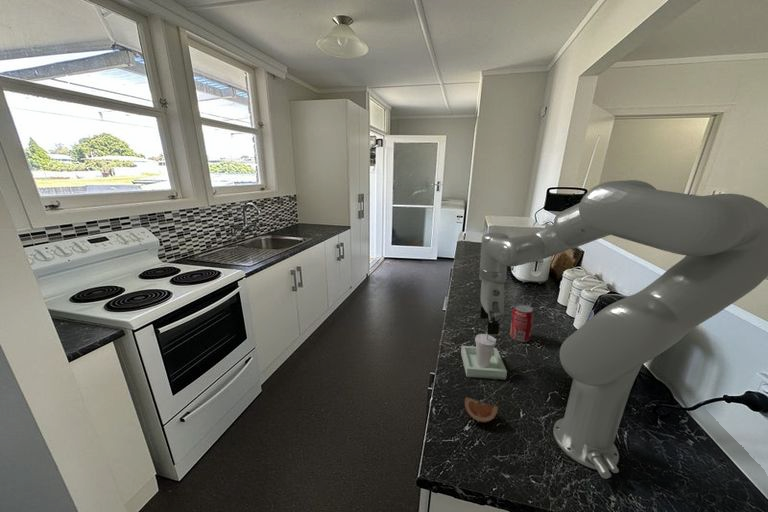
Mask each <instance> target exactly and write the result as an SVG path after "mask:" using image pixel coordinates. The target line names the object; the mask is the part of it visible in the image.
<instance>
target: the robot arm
mask: <svg viewBox="0 0 768 512" xmlns="http://www.w3.org/2000/svg"><path fill="white" fill-rule="evenodd" d="M608 236H613V237H616V238H620V239H624V240H627V241H630V242H633V243H637V244H640V245H644V246H647V247H650V248H654V249H657V250H660V251H664V252H668V253H671V254H675V255H681V256H684V257H683V258H681V260H680V261H678V262H677V263H675V264H674V265H672V266H671V267H669V268H668V269H667V270H665V272H664V273H663V274H661V276H659V277H658V278H657V279H655V280H653V282H651V283H650V284H649V285H647V286H645V287H644V288H643V289H641V290H640V291H638V292H636V293H633V294H632V295H629V296H627V297H623V298H621V299H620V300H617V301H615V302H612V303H610V304H609V305H607V306H605V307H604V308H602V309H600V310H599V311H598V312H596V314H594V315H593V316H592V317H591V318H590V319H588V320H587V321H586V322H585V323H584V324H582V325H581V326H580V327H579V328H578V329H576V330H575V331H574V332H573V333H571V334H570V335H569V336H568V337H567V338H566V339H565V340H564V341H563V342H562V344H561V346H560V349H559V361H560V364H561V366H562V368H563V370H564V372H566V373H567V375H568V376H569V377H571V378H572V382H571V386H570V391H569V396H568V398H567V404H566V408H565V412H564V416H563V417H562V418H559V419H558V420H556V422H554V425H553V432H552V434H553V437H554V440H555V441H556V443H557V444H558V446H559V447H560V449H562V451H563V452H564V453H566V455H568V456H569V457H570V458H571V459H573V460H574V461H576V463H579V464H581V465H582V466H585V467H587V468H590V469H592V470H596V471H597V472H598V473H599V475H600V478H602V479H609V478H611V477H612V474H611V472H612V473H613V474H617V473H619V472H620V470H619V468H618V466H617V465H618V463H619V461H620V460H619V459H620V454H619V450H618V448H617V446H616V445H615V440H616V437H617V434H618V431H619V426H620V424H621V422H622V421H621V420H622V417H623V416H624V415H623V414H624V412H625V408H626V404H627V402H628V399H629V397H630V396H629V395H630V393H631V389H632V387H633V386H634V383H635V380H636V379H637V376H638V374H639V372H640V370H641V368H642V365H644V364H647V363H648V362H650V361H651V360H652V359H653V360H654V358H656V357H657V356H659V355H661V354H662V353H664V352H665V351H667V350H668V349H670V348H671V347H673V346H674V345H675V344H676V343H678V342H679V341H680V340H682V339H683V338H684V337H685V336H686V335H687V334H688V333H689V332H691V331H692V330H693V329H695V328H696V327H698V326H699V325H700V324H702V323H705V322H706V321H708V320H710V318H712V317H714V316H716V315H717V314H719V313H720V312H722V311H723V310H725V309H726V308H728V307H729V306H731V305H733V304H734V303H736V302H737V301H738V300H740V299H742V298H743V297H745V296H746V295H747V294H749V293H751V292H752V291H753V290H754V289H756V288H757V287H759V285H760V284H762V282H764V281H765V280H766V278H767V277H768V207H767V206H766V205H765V204H764V203H762V202H761V201H758V199H755V198H753V197H751V196H748V195H744V194H738V193H717V194H716V193H715V194H710V195H709V194H707V195H697V194H688V193H681V192H675V191H668V190H661V189H657V188H656V187H655V186H653V185H652V184H651V183H648V182H646V181H643V180H636V179H634V180H633V179H632V180H631V179H630V180H629V179H628V180H612V181H606V182H602V183H600V184H597V185H596V186H594V187H592V188H590V189H589V190H588V191H587V192H586V193H585V194H584V195H583V196H582V198H581V199H580V202H579V203H576V204H574V205H572V206H571V207H569V208H566V209H564V210H562V211H559V213H557V214H556V215H555V217H554V218H553V224H550V225H549V226H547V227H545V228H543V229H541V230H539V231H537V232H535V233H532V234H528V235H520V236H516V237H515V236H514V237H509V236H508V235H507V234H505V233H499V232H487V233H485V234H483V235H482V238H481V246H480V247H481V248H480V263H479V277H478V278H479V280H480V281H481V284H480V285H481V286H480V315H479V318H480V319H484V320H488V321H487V328H486V334H487V333H488V335H499V333H500V332H499V331H500V324H501V315H504V313H505V312H504V311H505V282H506V281H507V271H508V267H510V268H511V267H518V266H521V265H525V264H531V263H534V262H537V261H538V262H539V261H541V260H544V259H547V258H550V257H553V256H555V255H559V254H561V253H564V252H567V251H569V250H572V249H576V248H578V247H581V246H584V245H587V244H589V243H591V242H595V241H597V240H601V239H603V238H605V237H608ZM492 315H493V316H492ZM610 471H611V472H610Z"/></svg>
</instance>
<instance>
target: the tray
mask: <svg viewBox="0 0 768 512" xmlns="http://www.w3.org/2000/svg"><path fill="white" fill-rule="evenodd" d="M460 348H461V349H460V354H461V358H462V363H463V368H464V371H465V376H466V377H468V378H481V379H491V380H492V379H493V380H507V375H508V374H507V373H508V371H507V369H506V366H505V364H504V362H503V359H502V357H501V354H500V353H499V349H498V348H497V347H494V349H493V352H492V356H491V359H490V363H489V366H488V367H487V368H481V367H479V366H478V365H477V353H476V346H470V345H461V347H460Z"/></svg>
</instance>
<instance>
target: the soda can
mask: <svg viewBox="0 0 768 512" xmlns="http://www.w3.org/2000/svg"><path fill="white" fill-rule="evenodd" d="M511 316H512V317H511V323H510V332H509V335H510V336H509V337H511V339H513V340H514V341H516V342H519V343H527V342H529V341H530V339H531V336H532V335H531V334H532V329H533V321H534V316H535V315H534V309H533V307H531V306H530V305H526V304H521V303H520V304H516V305H515V306H514V308H513V309H512V314H511Z"/></svg>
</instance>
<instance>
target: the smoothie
mask: <svg viewBox="0 0 768 512" xmlns="http://www.w3.org/2000/svg"><path fill="white" fill-rule="evenodd" d="M474 341H475V347H476V353H477V365H478V366H479V367H481V368H487V367H488V366H489V363H490V359H491V356H492V352H493V349H494V348H495V346H496V345H497V340H496V339H495V337H494V336H492V335H491V334H488V333H487V332H486V334H485V333H479V334H477V335H475V337H474Z"/></svg>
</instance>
